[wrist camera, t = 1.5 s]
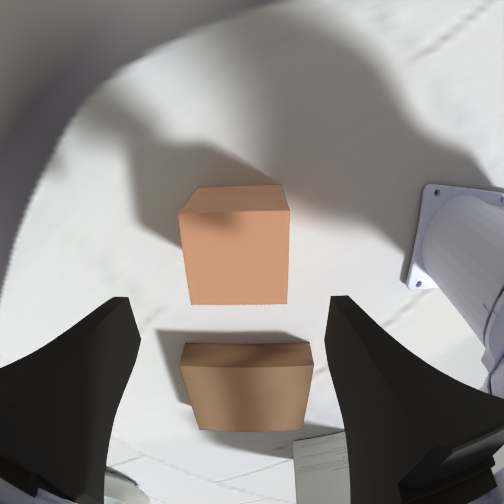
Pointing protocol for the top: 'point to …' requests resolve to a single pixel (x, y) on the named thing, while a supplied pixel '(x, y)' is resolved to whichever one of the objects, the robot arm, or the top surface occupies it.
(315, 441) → the supplement box
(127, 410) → the top surface
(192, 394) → the walnut slab
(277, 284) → the terracotta cube
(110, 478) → the cereal bowl
